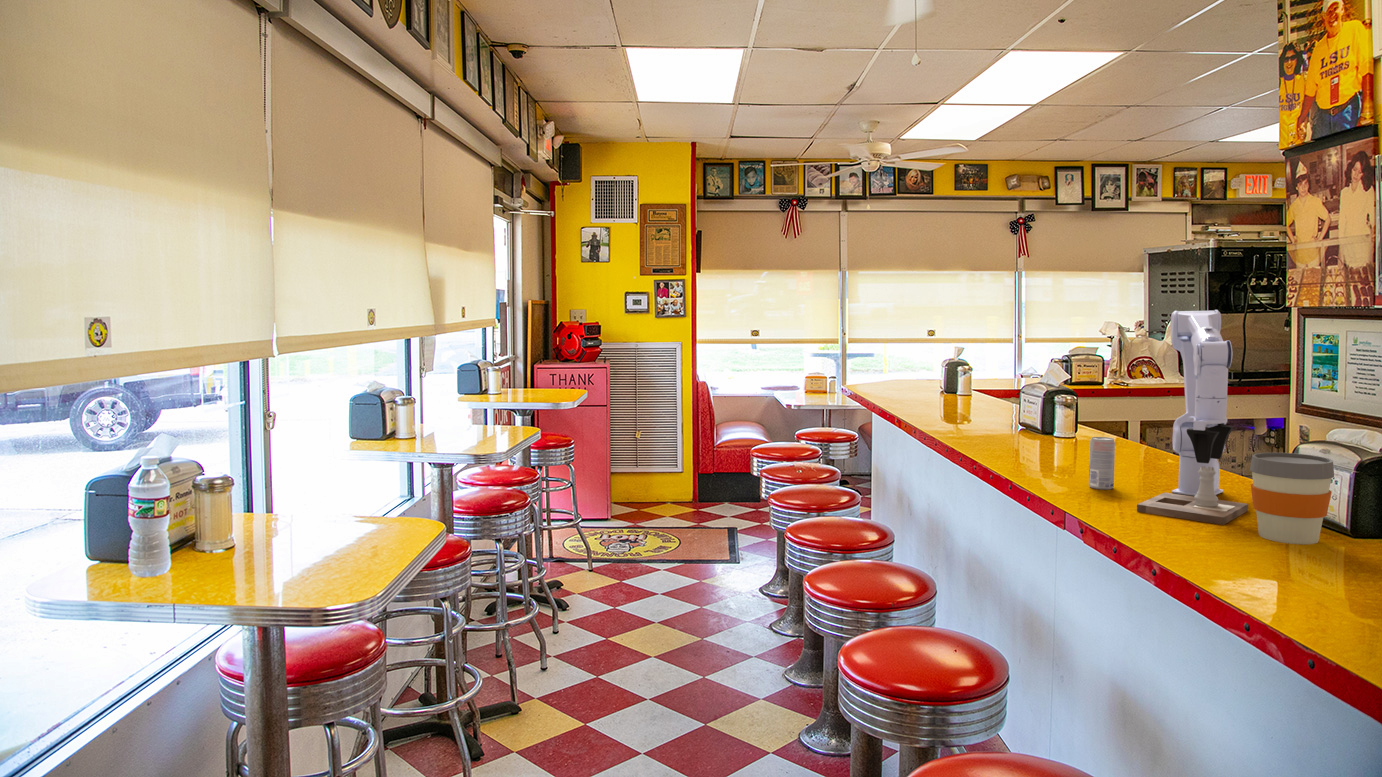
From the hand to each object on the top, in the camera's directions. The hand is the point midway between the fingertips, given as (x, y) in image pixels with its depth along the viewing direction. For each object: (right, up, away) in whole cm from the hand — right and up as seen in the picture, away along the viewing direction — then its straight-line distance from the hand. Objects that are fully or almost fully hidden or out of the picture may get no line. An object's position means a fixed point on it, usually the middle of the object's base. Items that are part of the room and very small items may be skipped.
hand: (1208, 460), depth 173 cm
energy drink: (-12, -9, +22) cm, 27 cm away
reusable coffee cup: (0, -13, -23) cm, 26 cm away
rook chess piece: (-3, -9, -4) cm, 11 cm away
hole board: (-5, -11, -2) cm, 12 cm away
